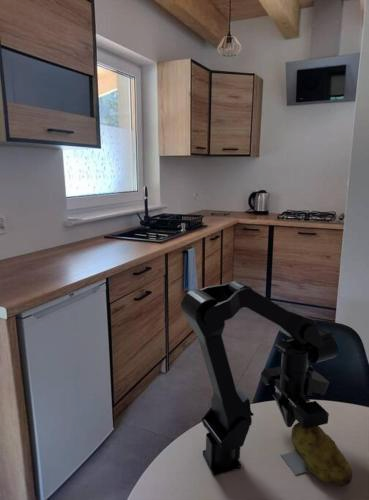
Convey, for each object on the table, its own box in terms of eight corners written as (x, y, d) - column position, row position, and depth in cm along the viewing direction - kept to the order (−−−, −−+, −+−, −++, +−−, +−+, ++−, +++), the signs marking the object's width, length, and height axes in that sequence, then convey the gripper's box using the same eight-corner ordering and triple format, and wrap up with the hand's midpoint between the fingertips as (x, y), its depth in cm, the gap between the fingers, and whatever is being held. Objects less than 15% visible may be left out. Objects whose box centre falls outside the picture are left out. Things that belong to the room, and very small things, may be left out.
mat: (295, 475, 73) (295, 474, 73) (280, 455, 78) (280, 454, 78) (339, 462, 76) (339, 461, 76) (322, 444, 81) (322, 443, 81)
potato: (319, 499, 67) (323, 464, 66) (283, 448, 79) (286, 417, 78) (356, 489, 70) (361, 455, 68) (315, 441, 82) (319, 411, 80)
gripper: (353, 383, 73) (345, 447, 77) (300, 342, 91) (295, 396, 94) (308, 392, 70) (301, 459, 74) (261, 348, 88) (257, 403, 91)
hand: (288, 426), depth 83 cm, fingers closed
